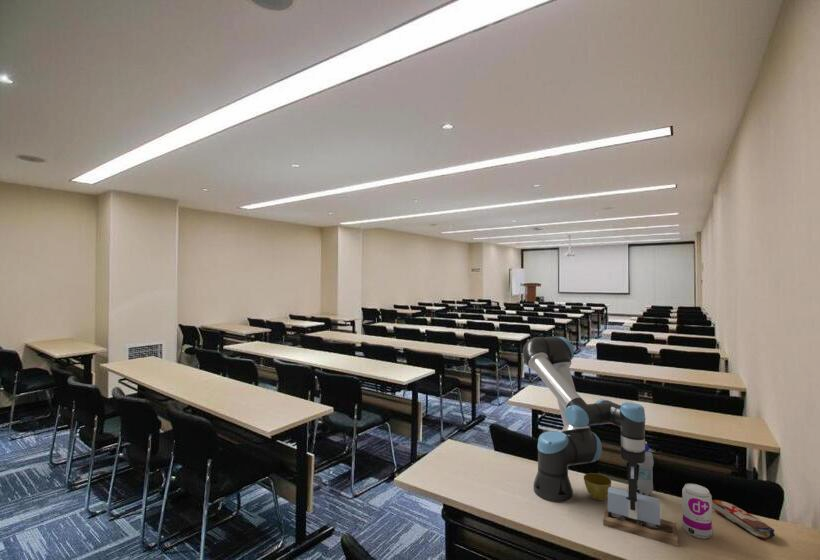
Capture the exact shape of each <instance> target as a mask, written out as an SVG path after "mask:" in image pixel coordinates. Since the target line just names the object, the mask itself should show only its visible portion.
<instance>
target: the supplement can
mask: <svg viewBox="0 0 820 560" xmlns="http://www.w3.org/2000/svg"><path fill="white" fill-rule="evenodd" d="M681 491H682V493H681V494H682V495H681V497H682V498H681V499H682V501H681V502H682V503H681V504H682V506H681V507H682V513H681V515H682V520H681V521H682V523H681V524H682V526H681V527H682V528H683V530H685V532H686V533H687V534H689V535H690V536H692V537H695V538H698V539H702V540H703V539H709V538H710V537H712V535H713V512H712V511H713V508H712V500H713V499H712V498H713V495H712V494H711V493H710V490H709V489H708V488H707V487H705V486H704V485H703V486H702V485H700V484H697V483H685V484H684V486H683V488H682V490H681Z"/></svg>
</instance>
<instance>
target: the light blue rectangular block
mask: <svg viewBox="0 0 820 560" xmlns="http://www.w3.org/2000/svg"><path fill="white" fill-rule="evenodd" d="M626 497H628V490H625V489H624V490H623V489H619V488H616V487H612V486H611V487H609V488H608V495H607V505H608V512H612V515H611V517H613V518H614V519H617V520H622V519H623V518H622V515H623V516H626V517H628V499H626ZM637 519H638V520H641V521H645V524H644V525H645V527H646V528H650V529H656V528H658V527H657V525H660V519H661V499H660V498H657V497H654V496H649V495H648V496H646V495H645V494H642V495H641V494H640V493H638V494H637Z"/></svg>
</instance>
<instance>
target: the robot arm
mask: <svg viewBox="0 0 820 560" xmlns="http://www.w3.org/2000/svg"><path fill="white" fill-rule="evenodd" d="M574 351H575V350H574V347H573V345H572V343H571V342H570V340H569V339H568V338H566V337H563V336H558V335H557V336H544V337H543V336H541V337H539V336H537V337H532V338H530V339H528V340H527V341H526V343H525V344H524V345H523V349H522V357H523V358H522V359H523V360H524V362H525V364H526V366H527V367H528V369H530V370H531V371H534V372H535V373H536V374H537V376H538V377H539V378H540V379H541V380H542V381H543V383H544V384H545V386H546V387H547V388H548V389H549V391H550V392H551V393H552V394H553V396H554V397H555V398H556V401H557V404H558V409H559V412H560V415H561V420H562V423H563V428H562V430H561V431H559V430H558V431H554V430H550V431H549V430H548V431H545V432H542V433H541V434H540V435H539V436H538V440H537V472H536V476H535V478H534V481H533V492H534V493H535V494H536V495H537V496H538V497H540V499H541V498H542V499H544V500H547V501H550V502H555V503H562V502H563V503H564V502H568V501H570V500H571V499H572V498H573V493H574V492H573V491H574V490H573V486H572V483H571V481H570V477H569V467H570V466H576V465H583V464H590V463H594V462H596V461H597V462H598V460H599V459H600V457H601V455H602V450H603V448H602V447H603V446H602V442H601V440H600V437H599V436H597V434H596V433H595V432H593V431H592V430H591V426H599V425H607V424H612V425H614V426H617V427H618V428H620V446H621V447H620V456H621V458H622V459H623V460H624V461H625V462H626V467H625V468H626V472H627V473H626V477H627V479H628V481H627V483H628V484H627V485H628V486H627V487H628V488H627V491H628V497H626V499H628V517H629V518H633V519H636V520H637V494H640V490H637V488H638V486H637V481H638V476H639V464H637V463H644V462H645V451H644V450H645V444H646V445H648V442H647V441H646V414H645V407H644V406H642V405H641V404H640V403H634V402H628V401H627V402H626V401H625V402H623V403H621V404H619V403H616V402H612V400H611V401H610V400H608V399H607V400H606V399H602V398H601V399H598V400H596V401H595V402H594V403H587V402H586V401H585V400H584V399H583V398H582V397H581V395H579V393H578V392H577V391H576V387H575V383H574V380H573V377H572V374H571V370H570V367H571V366H572V360H573V359H574V353H575V352H574Z"/></svg>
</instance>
